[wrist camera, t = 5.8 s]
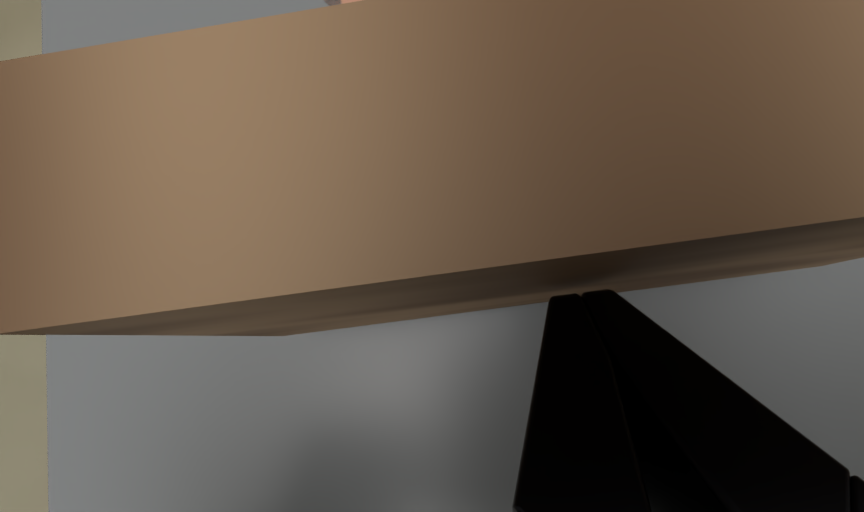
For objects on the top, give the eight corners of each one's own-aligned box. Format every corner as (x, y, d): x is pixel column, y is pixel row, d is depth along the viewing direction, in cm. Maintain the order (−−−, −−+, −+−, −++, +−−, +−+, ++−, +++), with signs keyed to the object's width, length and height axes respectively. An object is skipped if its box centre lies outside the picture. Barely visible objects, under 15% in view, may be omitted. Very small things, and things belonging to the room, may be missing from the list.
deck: (812, -286, 18) (879, -411, 15) (1056, 577, 14) (1216, 644, 11) (105, -150, 19) (38, -239, 16) (135, 663, 15) (51, 742, 12)
